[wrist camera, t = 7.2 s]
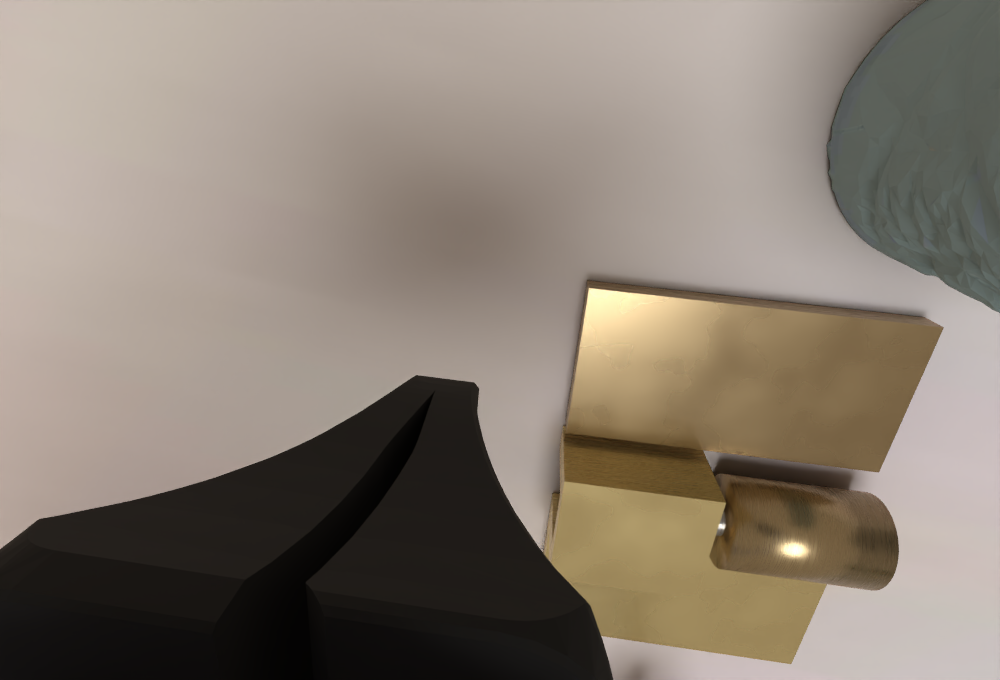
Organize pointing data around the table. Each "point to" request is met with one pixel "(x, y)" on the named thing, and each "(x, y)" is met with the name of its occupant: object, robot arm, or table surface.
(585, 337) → the bronze leaf with pin
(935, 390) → the table surface
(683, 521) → the brass leaf
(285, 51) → the table surface
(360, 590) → the robot arm
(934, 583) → the table surface
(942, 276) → the teal cup
